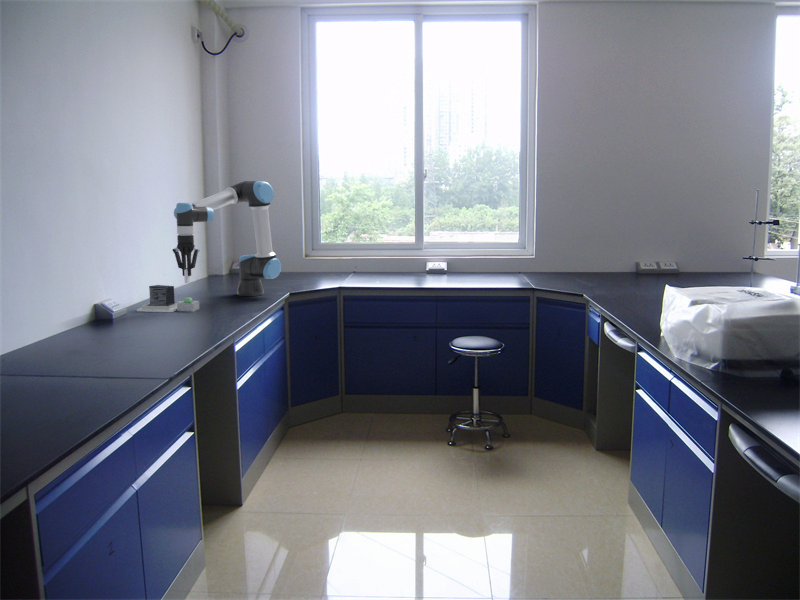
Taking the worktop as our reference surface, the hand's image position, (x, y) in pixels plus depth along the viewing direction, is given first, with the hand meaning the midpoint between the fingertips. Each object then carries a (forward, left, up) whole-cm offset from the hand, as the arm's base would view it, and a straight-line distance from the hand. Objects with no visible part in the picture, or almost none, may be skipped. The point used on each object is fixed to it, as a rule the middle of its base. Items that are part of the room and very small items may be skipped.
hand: (187, 282), depth 308 cm
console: (0, 0, -14) cm, 14 cm away
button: (0, 0, -12) cm, 12 cm away
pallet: (+14, -2, -14) cm, 20 cm away
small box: (+14, -2, -13) cm, 19 cm away
